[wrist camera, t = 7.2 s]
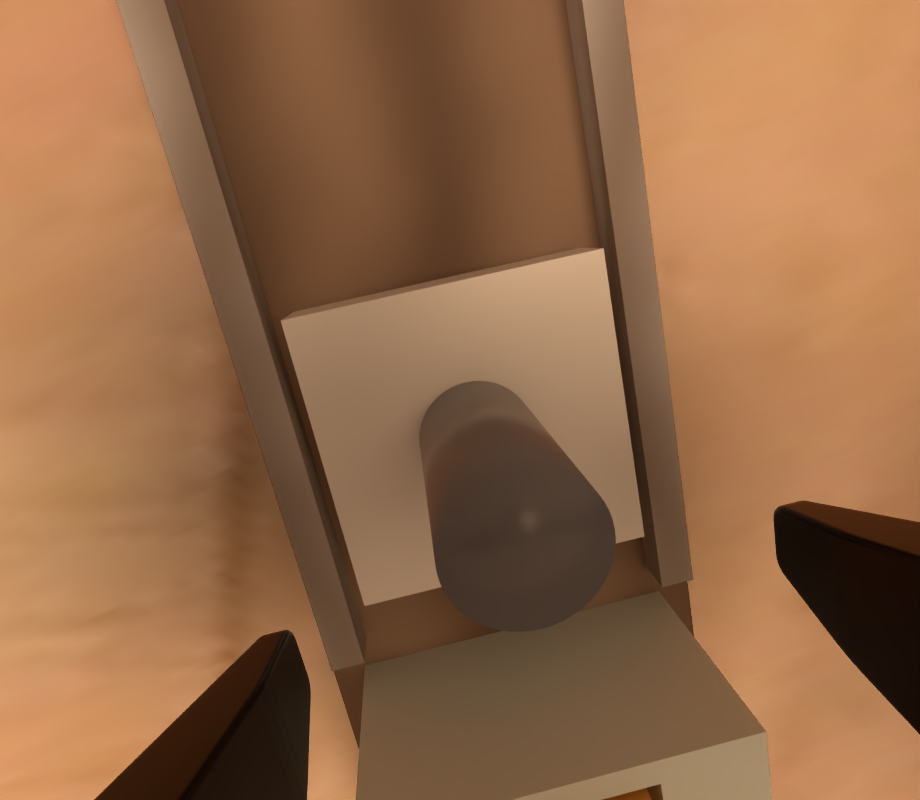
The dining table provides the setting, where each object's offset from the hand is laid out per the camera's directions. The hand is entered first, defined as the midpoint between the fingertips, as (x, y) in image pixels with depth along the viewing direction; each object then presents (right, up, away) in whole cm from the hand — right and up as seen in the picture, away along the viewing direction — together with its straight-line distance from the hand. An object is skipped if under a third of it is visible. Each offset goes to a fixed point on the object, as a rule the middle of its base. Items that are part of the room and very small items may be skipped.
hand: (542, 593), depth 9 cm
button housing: (+1, -8, +12) cm, 14 cm away
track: (-1, +3, +11) cm, 11 cm away
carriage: (-1, +2, +9) cm, 9 cm away
